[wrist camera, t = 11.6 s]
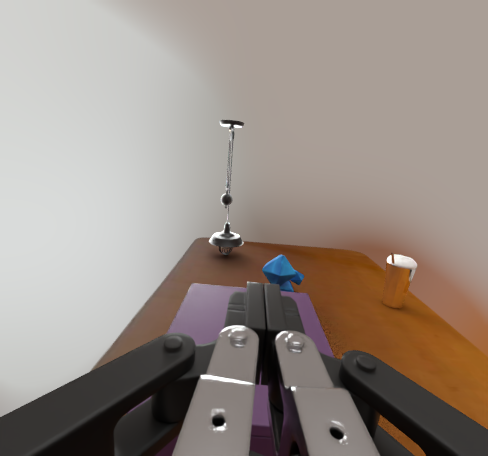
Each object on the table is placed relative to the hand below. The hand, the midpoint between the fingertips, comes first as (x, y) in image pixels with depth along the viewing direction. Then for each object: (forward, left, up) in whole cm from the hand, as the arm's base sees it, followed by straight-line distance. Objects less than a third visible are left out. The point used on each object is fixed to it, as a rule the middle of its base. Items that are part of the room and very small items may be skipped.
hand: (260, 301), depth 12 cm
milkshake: (+32, -26, -17) cm, 45 cm away
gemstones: (+30, -6, -17) cm, 35 cm away
